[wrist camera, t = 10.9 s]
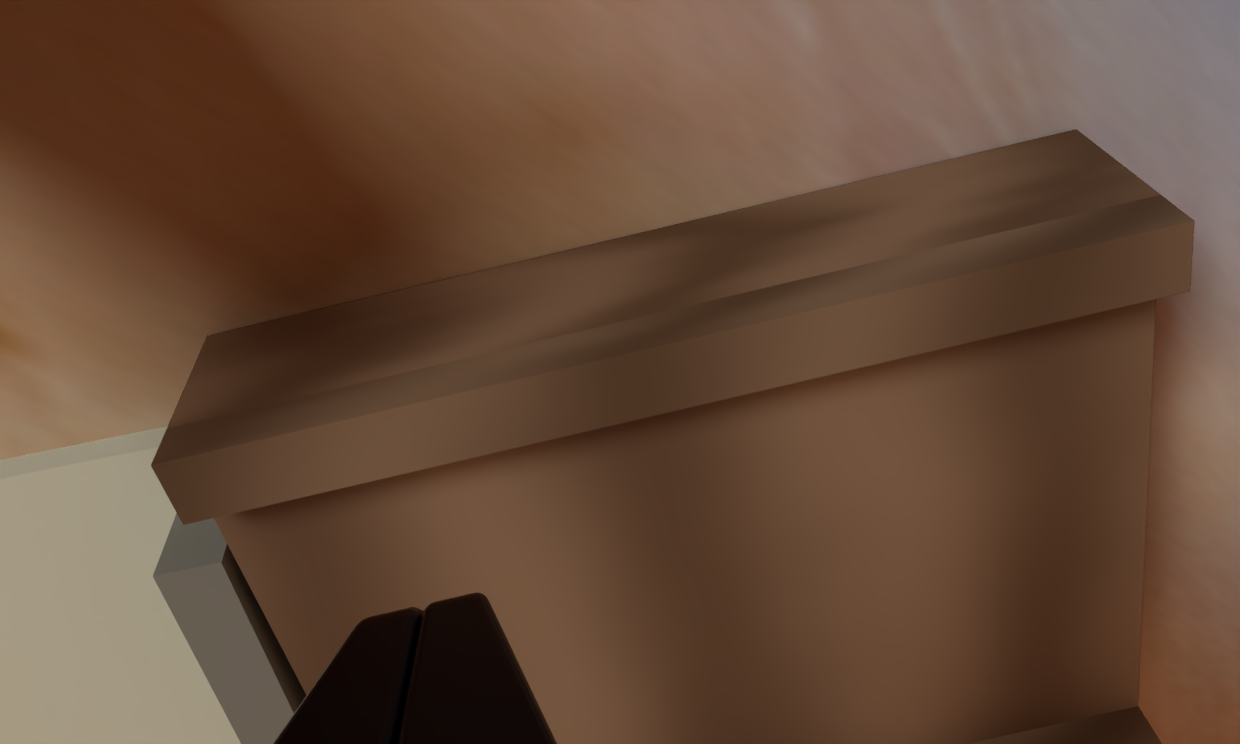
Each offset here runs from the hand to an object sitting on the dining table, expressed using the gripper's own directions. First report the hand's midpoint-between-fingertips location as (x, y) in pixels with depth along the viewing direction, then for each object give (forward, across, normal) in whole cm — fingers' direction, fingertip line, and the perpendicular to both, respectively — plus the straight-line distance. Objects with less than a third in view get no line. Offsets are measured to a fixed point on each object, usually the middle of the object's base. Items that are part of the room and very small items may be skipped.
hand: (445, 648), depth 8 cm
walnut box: (+13, -2, +10) cm, 17 cm away
